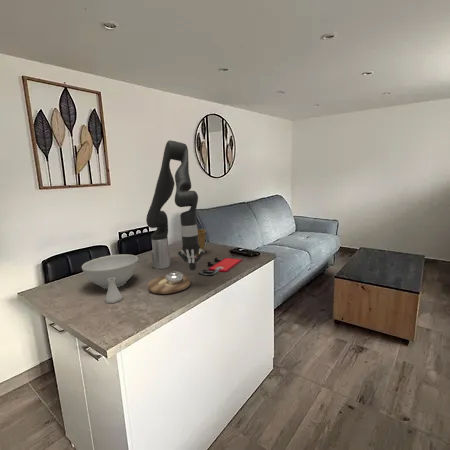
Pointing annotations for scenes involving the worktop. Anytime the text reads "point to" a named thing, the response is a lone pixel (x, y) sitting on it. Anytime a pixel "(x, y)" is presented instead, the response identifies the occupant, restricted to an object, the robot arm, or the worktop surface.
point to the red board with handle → (221, 266)
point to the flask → (113, 292)
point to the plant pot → (201, 239)
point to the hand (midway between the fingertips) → (193, 270)
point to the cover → (174, 278)
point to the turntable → (167, 285)
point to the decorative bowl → (110, 269)
